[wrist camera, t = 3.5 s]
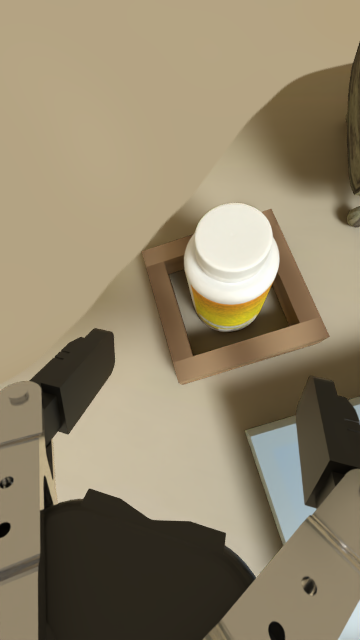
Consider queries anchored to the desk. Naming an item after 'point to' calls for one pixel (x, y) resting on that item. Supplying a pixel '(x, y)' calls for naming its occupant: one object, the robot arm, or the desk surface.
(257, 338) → the holder
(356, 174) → the tabletop clock
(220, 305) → the supplement bottle
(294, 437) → the tray
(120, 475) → the desk surface
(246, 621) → the robot arm
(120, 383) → the desk surface
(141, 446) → the desk surface
